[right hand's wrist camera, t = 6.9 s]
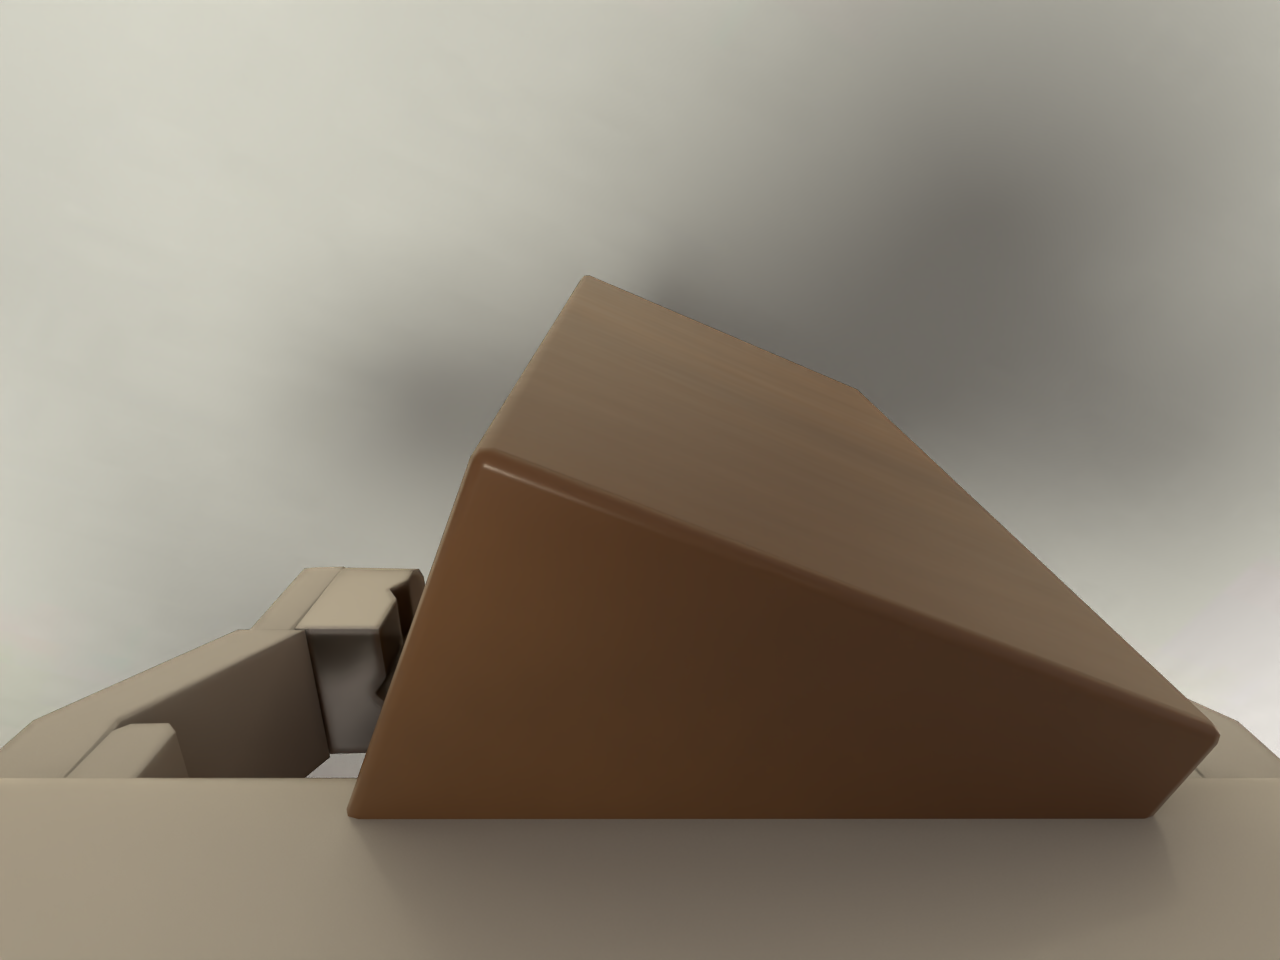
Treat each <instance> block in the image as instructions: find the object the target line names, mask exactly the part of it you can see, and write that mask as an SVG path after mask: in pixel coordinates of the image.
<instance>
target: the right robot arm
mask: <svg viewBox="0 0 1280 960" xmlns="http://www.w3.org/2000/svg"><path fill="white" fill-rule="evenodd" d="M424 587H425V582H424V576H423V575H422V573H421V572H420V570H419V569H400V568H345V567H316V568H305V569H304V570H303V571H302V572H301V573H300V574H299V575H298V576H297V577H296V579H295V580H294V581H293V582H292V583H291V584H290V585H289V586H288V588H287V589H286V590H285V591H284V592H283V593H282V594H281V595H280V597H279V598H278V599H277V600H276V601H275V602H274V603H273V604H272V606H271V607H270V608H269V609H268V610H267V611H266V612H265V613H264V615H263V616H262V617H261V618H260V619H259V620H258V621H257V622H256V624H255V625H254V626H253V627H252V628H251V629H250V630H236V631H234V632H232V633H229V634H227V635H225V636H223V637H220V638H218V639H216V640H214V641H211V642H209V643H207V644H205V645H202V646H200V647H198V648H196V649H193V650H191V651H189V652H186V653H184V654H182V655H180V656H177V657H175V658H173V659H171V660H168V661H166V662H164V663H162V664H159V665H157V666H155V667H153V668H150V669H148V670H146V671H144V672H141V673H139V674H137V675H135V676H132V677H130V678H128V679H126V680H123V681H121V682H119V683H117V684H114V685H112V686H110V687H108V688H105V689H103V690H101V691H98V692H96V693H94V694H92V695H89V696H87V697H85V698H83V699H80V700H78V701H76V702H74V703H71V704H69V705H67V706H65V707H62V708H60V709H58V710H56V711H53V712H51V713H49V714H47V715H44V716H42V717H40V718H38V719H35V720H33V721H32V722H31V723H30V724H29V725H27V726H26V727H25V728H24V729H23V730H22V731H21V732H19V733H18V734H17V735H16V736H15V737H14V738H13V739H11V740H10V741H9V742H8V743H7V744H6V745H5V746H3V747H2V748H1V749H0V960H1280V759H1279V758H1278V757H1277V756H1276V755H1275V754H1274V753H1273V752H1272V751H1270V750H1269V749H1268V748H1267V747H1266V746H1265V745H1264V744H1263V743H1262V742H1260V741H1259V740H1258V739H1257V738H1256V737H1255V736H1254V735H1253V734H1252V733H1250V732H1249V731H1248V730H1247V729H1246V728H1245V727H1244V726H1243V725H1242V724H1240V723H1239V722H1238V721H1236V720H1234V719H1231V718H1229V717H1227V716H1225V715H1223V714H1220V713H1218V712H1216V711H1214V710H1211V709H1209V708H1207V707H1205V706H1203V705H1200V704H1198V703H1196V702H1194V701H1191V700H1189V699H1188V700H1189V701H1190V702H1191V703H1192V704H1193V705H1194V706H1195V707H1197V708H1198V709H1199V710H1200V711H1201V712H1202V713H1203V714H1204V715H1205V716H1206V717H1207V718H1208V719H1209V720H1210V721H1211V722H1212V723H1213V724H1214V725H1215V726H1216V727H1217V729H1218V731H1219V733H1220V738H1219V741H1218V744H1217V745H1216V746H1215V747H1214V748H1213V750H1212V751H1211V752H1210V753H1209V754H1208V755H1207V756H1206V757H1205V758H1204V760H1203V761H1202V762H1201V763H1200V764H1199V765H1198V766H1197V767H1196V769H1195V770H1194V771H1193V772H1192V773H1191V774H1190V775H1189V776H1188V777H1187V779H1186V780H1185V781H1184V782H1183V783H1182V784H1181V785H1180V786H1179V787H1178V789H1177V790H1176V791H1175V792H1174V793H1173V794H1172V795H1171V796H1170V797H1169V799H1168V800H1167V801H1166V802H1165V803H1164V804H1163V805H1162V806H1161V808H1160V809H1159V810H1158V811H1157V812H1156V813H1155V814H1154V815H1153V816H1151V817H1148V818H1146V819H356V818H352V817H349V816H348V814H347V806H348V803H349V801H350V798H351V795H352V792H353V789H354V786H355V784H356V781H357V778H305V777H306V776H308V775H309V774H310V773H311V772H312V771H314V770H315V769H316V768H317V767H319V766H320V765H321V764H322V763H323V762H325V761H326V760H327V759H328V758H329V757H330V754H339V753H366V752H367V749H368V747H369V744H370V741H371V738H372V735H373V732H374V730H375V727H376V724H377V721H378V718H379V715H380V712H381V710H382V707H383V704H384V701H385V698H386V695H387V693H388V690H389V687H390V684H391V681H392V678H393V675H394V673H395V670H396V667H397V664H398V661H399V658H400V656H401V653H402V650H403V647H404V644H405V641H406V639H407V636H408V633H409V630H410V627H411V624H412V621H413V619H414V616H415V613H416V610H417V607H418V604H419V602H420V599H421V596H422V593H423V590H424Z"/></svg>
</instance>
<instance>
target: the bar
mask: <svg viewBox="0 0 1280 960" xmlns="http://www.w3.org/2000/svg"><path fill="white" fill-rule="evenodd" d="M1219 738H1220V733H1219V731H1218V729H1217V727H1216V726H1215V725H1214V724H1213V723H1212V722H1211V721H1210V720H1209V719H1208V718H1207V717H1206V716H1205V715H1204V714H1203V713H1202V712H1201V711H1200V710H1199V709H1198V708H1197V707H1195V706H1194V705H1193V704H1192V703H1191V702H1190V701H1189V700H1188V699H1187V698H1186V697H1185V696H1184V695H1183V694H1182V693H1181V692H1179V691H1178V690H1177V689H1176V688H1175V687H1174V686H1173V685H1172V684H1171V683H1170V682H1169V681H1168V680H1167V679H1166V678H1165V677H1163V676H1162V675H1161V674H1160V673H1159V672H1158V671H1157V670H1156V669H1155V668H1154V667H1153V666H1152V665H1151V664H1150V663H1149V662H1147V661H1146V660H1145V659H1144V658H1143V657H1142V656H1141V655H1140V654H1139V653H1138V652H1137V651H1136V650H1135V649H1134V648H1132V647H1131V646H1130V645H1129V644H1128V643H1127V642H1126V641H1125V640H1124V639H1123V638H1122V637H1121V636H1120V635H1119V634H1118V633H1116V632H1115V631H1114V630H1113V629H1112V628H1111V627H1110V626H1109V625H1108V624H1107V623H1106V622H1105V621H1104V620H1103V619H1102V618H1100V617H1099V616H1098V615H1097V614H1096V613H1095V612H1094V611H1093V610H1092V609H1091V608H1090V607H1089V606H1088V605H1087V604H1086V603H1084V602H1083V601H1082V600H1081V599H1080V598H1079V597H1078V596H1077V595H1076V594H1075V593H1074V592H1073V591H1072V590H1071V589H1070V588H1068V587H1067V586H1066V585H1065V584H1064V583H1063V582H1062V581H1061V580H1060V579H1059V578H1058V577H1057V576H1056V575H1055V574H1053V573H1052V572H1051V571H1050V570H1049V569H1048V568H1047V567H1046V566H1045V565H1044V564H1043V563H1042V562H1041V561H1040V560H1039V559H1037V558H1036V557H1035V556H1034V555H1033V554H1032V553H1031V552H1030V551H1029V550H1028V549H1027V548H1026V547H1025V546H1024V545H1023V544H1021V543H1020V542H1019V541H1018V540H1017V539H1016V538H1015V537H1014V536H1013V535H1012V534H1011V533H1010V532H1009V531H1008V530H1007V529H1005V528H1004V527H1003V526H1002V525H1001V524H1000V523H999V522H998V521H997V520H996V519H995V518H994V517H993V516H992V515H991V514H989V513H988V512H987V511H986V510H985V509H984V508H983V507H982V506H981V505H980V504H979V503H978V502H977V501H976V500H974V499H973V498H972V497H971V496H970V495H969V494H968V493H967V492H966V491H965V490H964V489H963V488H962V487H961V486H960V485H958V484H957V483H956V482H955V481H954V480H953V479H952V478H951V477H950V476H949V475H948V474H947V473H946V472H945V471H944V470H942V469H941V468H940V467H939V466H938V465H937V464H936V463H935V462H934V461H933V460H932V459H931V458H930V457H929V456H928V455H926V454H925V453H924V452H923V451H922V450H921V449H920V448H919V447H918V446H917V445H916V444H915V443H914V442H913V441H912V440H910V439H909V438H908V437H907V436H906V435H905V434H904V433H903V432H902V431H901V430H900V429H899V428H898V427H897V426H895V425H894V424H893V423H892V422H891V421H890V420H889V419H888V418H887V417H886V416H885V415H884V414H883V413H882V412H881V411H879V410H878V409H877V408H876V407H875V406H874V405H873V404H872V403H871V402H870V401H869V400H868V399H867V398H866V397H865V396H863V395H862V394H861V393H860V392H859V391H858V390H857V389H855V388H852V387H850V386H848V385H845V384H843V383H841V382H838V381H836V380H834V379H831V378H829V377H827V376H824V375H822V374H820V373H817V372H815V371H813V370H810V369H808V368H805V367H803V366H801V365H798V364H796V363H794V362H791V361H789V360H787V359H784V358H782V357H780V356H777V355H775V354H773V353H770V352H768V351H766V350H763V349H761V348H759V347H756V346H754V345H751V344H749V343H747V342H744V341H742V340H740V339H737V338H735V337H733V336H730V335H728V334H726V333H723V332H721V331H719V330H716V329H714V328H712V327H709V326H707V325H704V324H702V323H700V322H697V321H695V320H693V319H690V318H688V317H686V316H683V315H681V314H679V313H676V312H674V311H672V310H669V309H667V308H665V307H662V306H660V305H657V304H655V303H653V302H650V301H648V300H646V299H643V298H641V297H639V296H636V295H634V294H632V293H629V292H627V291H625V290H622V289H620V288H618V287H615V286H613V285H611V284H608V283H606V282H603V281H601V280H599V279H596V278H594V277H592V276H584V277H583V278H582V279H581V280H580V282H579V283H578V285H577V287H576V288H575V290H574V291H573V293H572V295H571V296H570V298H569V299H568V301H567V303H566V304H565V306H564V307H563V309H562V311H561V312H560V314H559V315H558V317H557V319H556V320H555V322H554V323H553V325H552V327H551V328H550V330H549V332H548V333H547V335H546V336H545V338H544V340H543V341H542V343H541V344H540V346H539V348H538V349H537V351H536V352H535V354H534V356H533V357H532V359H531V360H530V362H529V364H528V365H527V367H526V368H525V370H524V372H523V373H522V375H521V376H520V378H519V380H518V381H517V383H516V384H515V386H514V388H513V389H512V391H511V392H510V394H509V396H508V397H507V399H506V400H505V402H504V404H503V405H502V407H501V408H500V410H499V412H498V413H497V415H496V417H495V418H494V420H493V421H492V423H491V425H490V426H489V428H488V429H487V431H486V433H485V434H484V436H483V437H482V439H481V441H480V442H479V444H478V445H477V447H476V449H475V450H474V452H473V453H472V455H471V457H470V459H469V462H468V465H467V468H466V471H465V474H464V476H463V479H462V482H461V485H460V488H459V491H458V493H457V496H456V499H455V502H454V505H453V508H452V511H451V513H450V516H449V519H448V522H447V525H446V528H445V530H444V533H443V536H442V539H441V542H440V545H439V547H438V550H437V553H436V556H435V559H434V562H433V565H432V567H431V570H430V573H429V576H428V579H427V582H426V584H425V587H424V590H423V593H422V596H421V599H420V602H419V604H418V607H417V610H416V613H415V616H414V619H413V621H412V624H411V627H410V630H409V633H408V636H407V639H406V641H405V644H404V647H403V650H402V653H401V656H400V658H399V661H398V664H397V667H396V670H395V673H394V675H393V678H392V681H391V684H390V687H389V690H388V693H387V695H386V698H385V701H384V704H383V707H382V710H381V712H380V715H379V718H378V721H377V724H376V727H375V730H374V732H373V735H372V738H371V741H370V744H369V747H368V749H367V752H366V755H365V758H364V761H363V764H362V766H361V769H360V772H359V775H358V778H357V781H356V784H355V786H354V789H353V792H352V795H351V798H350V801H349V803H348V806H347V814H348V816H349V817H352V818H356V819H1146V818H1148V817H1151V816H1153V815H1154V814H1155V813H1156V812H1157V811H1158V810H1159V809H1160V808H1161V806H1162V805H1163V804H1164V803H1165V802H1166V801H1167V800H1168V799H1169V797H1170V796H1171V795H1172V794H1173V793H1174V792H1175V791H1176V790H1177V789H1178V787H1179V786H1180V785H1181V784H1182V783H1183V782H1184V781H1185V780H1186V779H1187V777H1188V776H1189V775H1190V774H1191V773H1192V772H1193V771H1194V770H1195V769H1196V767H1197V766H1198V765H1199V764H1200V763H1201V762H1202V761H1203V760H1204V758H1205V757H1206V756H1207V755H1208V754H1209V753H1210V752H1211V751H1212V750H1213V748H1214V747H1215V746H1216V745H1217V744H1218V741H1219Z"/></svg>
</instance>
